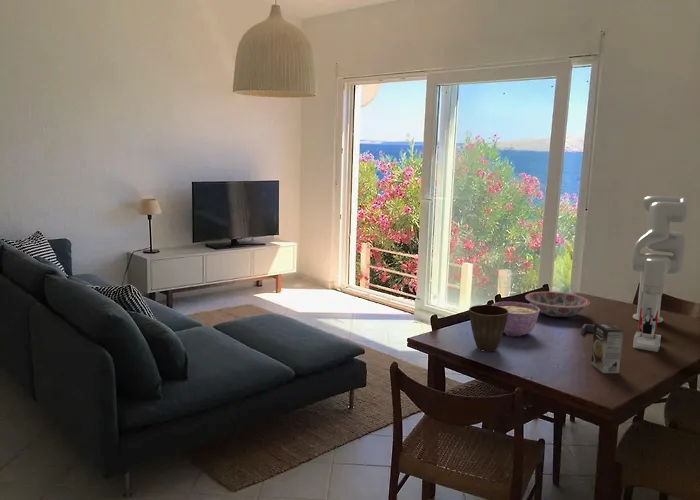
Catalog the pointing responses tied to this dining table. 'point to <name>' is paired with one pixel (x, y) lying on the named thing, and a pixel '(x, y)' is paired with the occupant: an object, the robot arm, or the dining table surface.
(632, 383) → the dining table surface
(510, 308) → the bowl of food
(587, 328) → the dark grey bracket
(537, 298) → the ceramic bowl
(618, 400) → the dining table surface
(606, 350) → the coffee box
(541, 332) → the dining table surface
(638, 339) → the port
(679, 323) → the dining table surface
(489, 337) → the plant pot
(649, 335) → the plug
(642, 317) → the soda can
